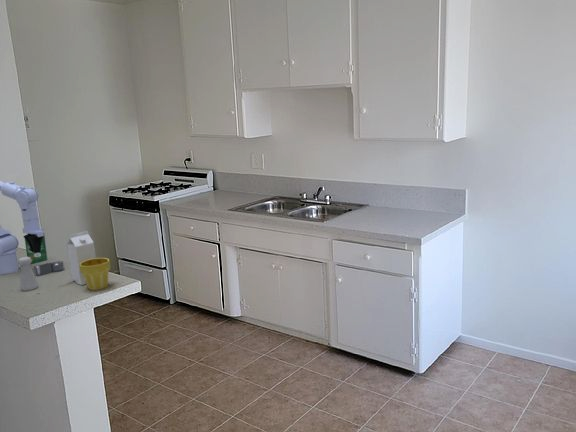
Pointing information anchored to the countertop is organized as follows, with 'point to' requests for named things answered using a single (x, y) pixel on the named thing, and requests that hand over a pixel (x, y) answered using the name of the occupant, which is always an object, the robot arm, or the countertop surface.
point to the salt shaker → (27, 275)
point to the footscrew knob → (49, 268)
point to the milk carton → (79, 254)
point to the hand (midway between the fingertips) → (36, 252)
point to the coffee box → (38, 256)
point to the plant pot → (95, 272)
